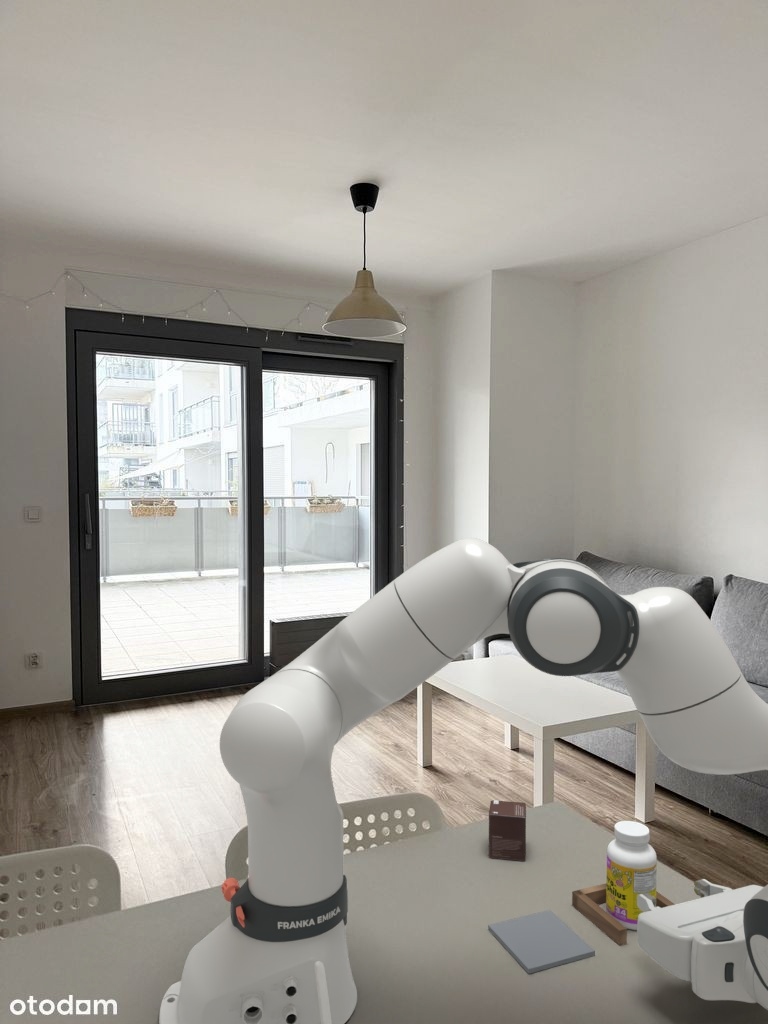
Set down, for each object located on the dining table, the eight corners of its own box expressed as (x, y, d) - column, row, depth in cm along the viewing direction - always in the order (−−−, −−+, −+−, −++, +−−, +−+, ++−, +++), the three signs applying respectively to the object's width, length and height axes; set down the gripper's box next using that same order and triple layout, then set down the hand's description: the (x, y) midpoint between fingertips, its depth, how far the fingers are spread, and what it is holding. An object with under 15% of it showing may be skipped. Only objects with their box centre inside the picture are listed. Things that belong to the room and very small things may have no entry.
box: (525, 862, 118) (525, 817, 118) (488, 858, 119) (488, 814, 119) (526, 844, 124) (526, 802, 124) (490, 841, 125) (490, 799, 125)
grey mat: (528, 973, 90) (528, 969, 90) (488, 929, 99) (488, 924, 99) (595, 955, 94) (595, 950, 94) (549, 913, 103) (550, 909, 103)
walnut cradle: (619, 945, 96) (619, 930, 96) (572, 905, 105) (572, 891, 105) (686, 926, 100) (686, 912, 100) (635, 889, 110) (635, 876, 110)
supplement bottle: (597, 907, 105) (598, 819, 105) (639, 902, 106) (640, 815, 106) (620, 934, 98) (621, 840, 98) (665, 929, 100) (666, 836, 99)
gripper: (826, 908, 86) (730, 854, 99) (691, 946, 78) (607, 882, 91) (824, 960, 86) (730, 900, 99) (690, 1004, 78) (606, 932, 91)
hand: (670, 891), depth 95 cm, fingers open, 8 cm apart
